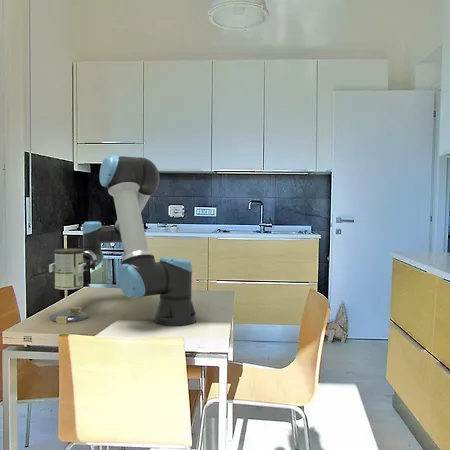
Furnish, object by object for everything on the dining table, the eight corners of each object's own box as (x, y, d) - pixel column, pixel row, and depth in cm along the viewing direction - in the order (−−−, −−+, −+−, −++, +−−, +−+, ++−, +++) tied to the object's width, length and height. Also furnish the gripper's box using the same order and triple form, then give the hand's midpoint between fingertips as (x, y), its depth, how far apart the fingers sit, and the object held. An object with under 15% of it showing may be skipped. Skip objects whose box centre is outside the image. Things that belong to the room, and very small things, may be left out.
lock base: (60, 312, 182) (59, 307, 182) (93, 313, 181) (93, 307, 181) (43, 323, 166) (43, 317, 166) (79, 323, 165) (79, 317, 165)
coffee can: (57, 284, 178) (57, 248, 177) (85, 284, 179) (85, 248, 179) (51, 290, 167) (51, 251, 167) (81, 289, 169) (81, 251, 168)
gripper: (112, 270, 191) (95, 279, 169) (57, 269, 191) (33, 278, 169) (112, 252, 190) (95, 259, 168) (57, 251, 191) (33, 257, 169)
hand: (64, 268), depth 169 cm, fingers closed on coffee can, 10 cm apart
